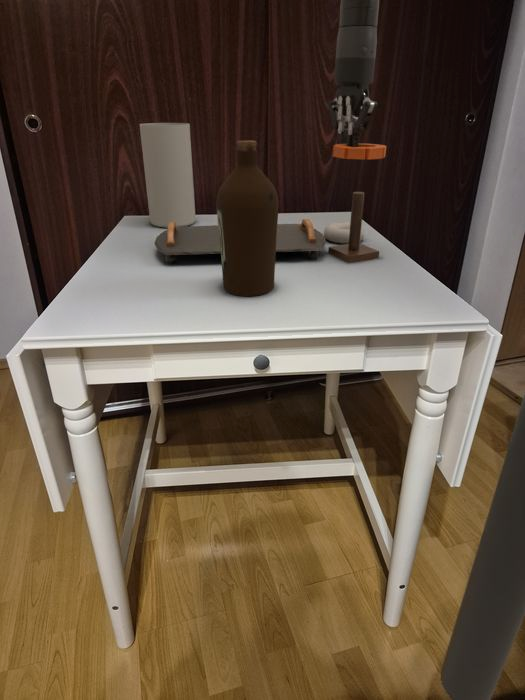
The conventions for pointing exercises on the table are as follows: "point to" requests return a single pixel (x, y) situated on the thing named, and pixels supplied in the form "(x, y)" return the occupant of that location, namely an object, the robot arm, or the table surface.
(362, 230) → the donut
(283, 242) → the serving tray
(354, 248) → the stand
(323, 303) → the table surface
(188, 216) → the cylinder vase
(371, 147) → the ring
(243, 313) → the table surface
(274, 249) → the olive oil
